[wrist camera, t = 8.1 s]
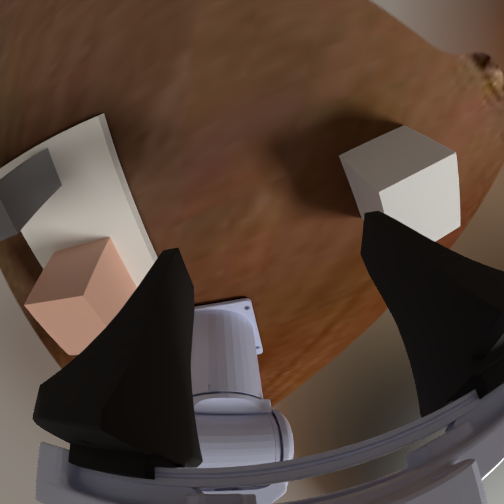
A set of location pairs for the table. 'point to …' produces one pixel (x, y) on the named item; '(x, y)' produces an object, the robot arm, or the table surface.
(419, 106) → the table surface
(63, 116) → the table surface
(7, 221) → the white flat board
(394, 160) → the white block
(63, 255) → the block
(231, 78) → the table surface
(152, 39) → the table surface
